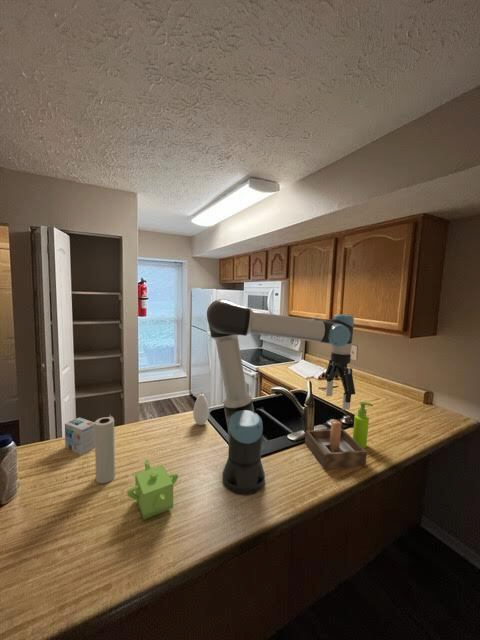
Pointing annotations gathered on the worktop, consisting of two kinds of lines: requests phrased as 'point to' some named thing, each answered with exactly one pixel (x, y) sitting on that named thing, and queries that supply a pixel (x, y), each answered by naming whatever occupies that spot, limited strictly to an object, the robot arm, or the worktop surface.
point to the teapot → (153, 490)
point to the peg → (335, 436)
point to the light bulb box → (80, 435)
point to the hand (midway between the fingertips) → (336, 402)
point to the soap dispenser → (361, 425)
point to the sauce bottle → (201, 410)
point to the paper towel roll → (104, 449)
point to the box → (346, 457)
